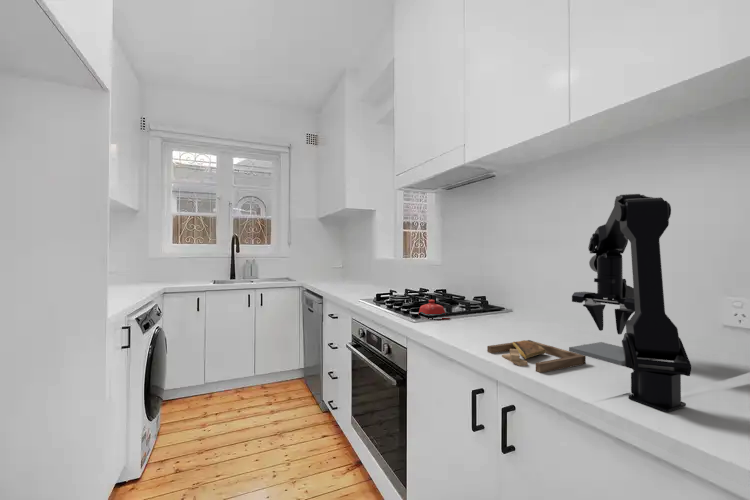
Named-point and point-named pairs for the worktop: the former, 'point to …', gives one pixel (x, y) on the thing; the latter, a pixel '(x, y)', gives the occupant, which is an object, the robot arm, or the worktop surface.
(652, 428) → the worktop surface
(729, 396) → the worktop surface
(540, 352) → the shard
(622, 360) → the charcoal mat
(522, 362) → the lower oak offcut
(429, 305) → the butter dish
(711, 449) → the worktop surface
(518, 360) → the upper oak offcut
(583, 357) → the walnut open-sided frame
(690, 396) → the worktop surface
